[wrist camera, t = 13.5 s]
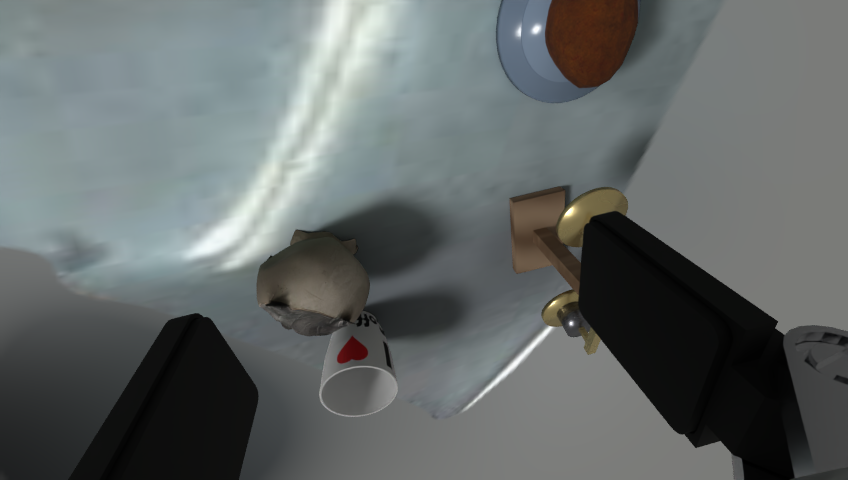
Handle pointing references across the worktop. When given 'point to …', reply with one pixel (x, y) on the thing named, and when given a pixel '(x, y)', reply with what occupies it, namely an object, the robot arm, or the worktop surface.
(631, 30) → the potato
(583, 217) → the balance beam
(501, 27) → the plate
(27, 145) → the worktop surface
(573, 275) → the balance stand
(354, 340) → the cup
